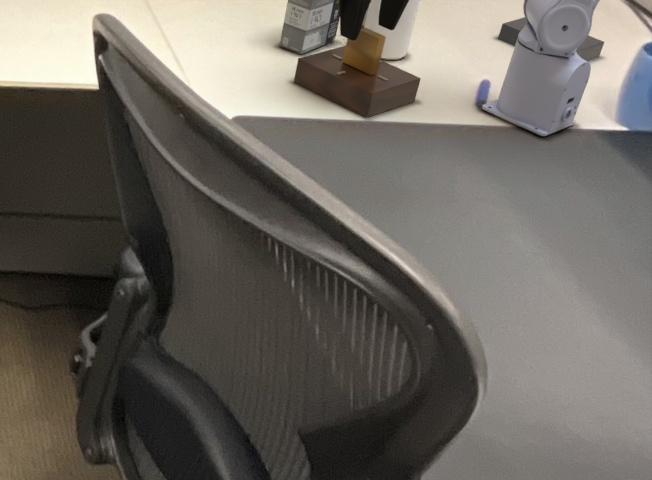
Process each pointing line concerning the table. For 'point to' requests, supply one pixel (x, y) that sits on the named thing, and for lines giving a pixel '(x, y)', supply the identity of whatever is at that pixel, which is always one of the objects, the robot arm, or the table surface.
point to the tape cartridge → (309, 24)
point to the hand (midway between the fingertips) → (367, 32)
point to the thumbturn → (365, 51)
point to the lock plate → (356, 83)
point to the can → (400, 35)
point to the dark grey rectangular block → (585, 50)
